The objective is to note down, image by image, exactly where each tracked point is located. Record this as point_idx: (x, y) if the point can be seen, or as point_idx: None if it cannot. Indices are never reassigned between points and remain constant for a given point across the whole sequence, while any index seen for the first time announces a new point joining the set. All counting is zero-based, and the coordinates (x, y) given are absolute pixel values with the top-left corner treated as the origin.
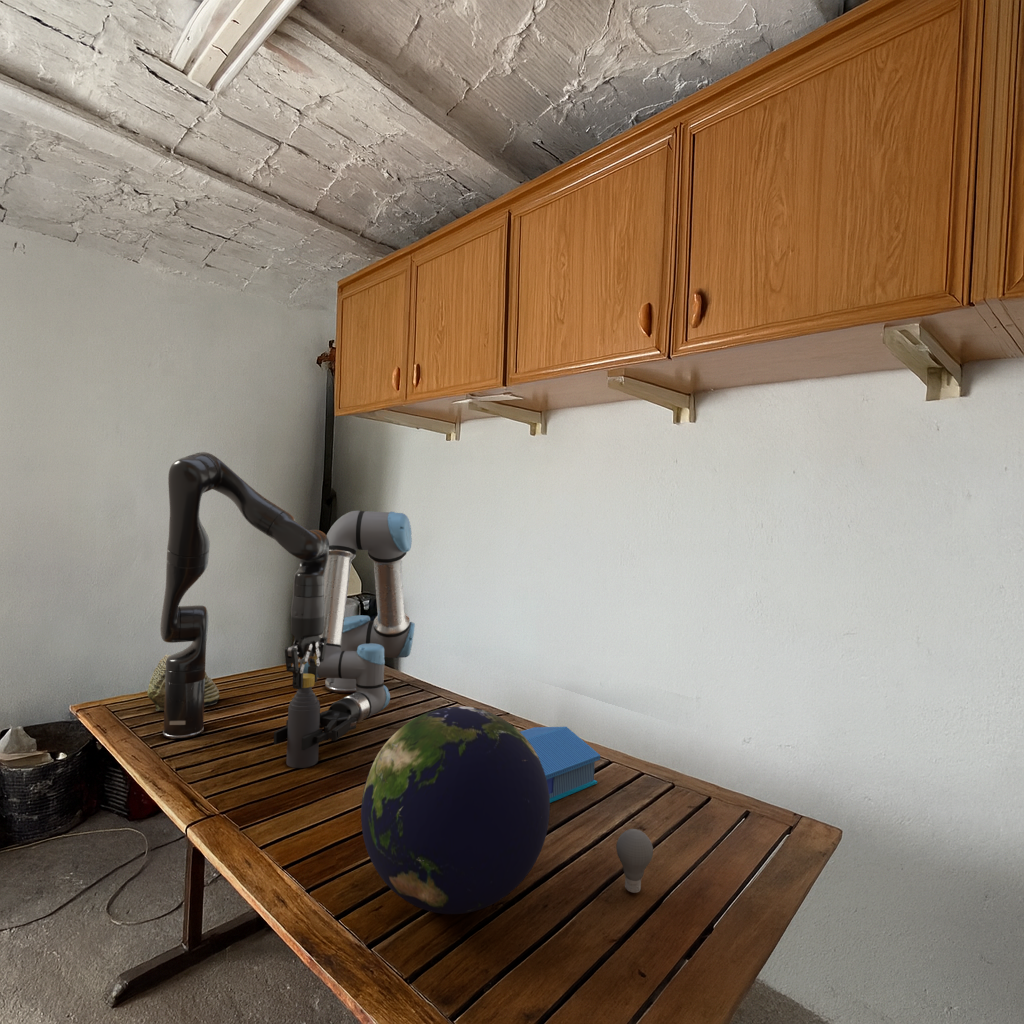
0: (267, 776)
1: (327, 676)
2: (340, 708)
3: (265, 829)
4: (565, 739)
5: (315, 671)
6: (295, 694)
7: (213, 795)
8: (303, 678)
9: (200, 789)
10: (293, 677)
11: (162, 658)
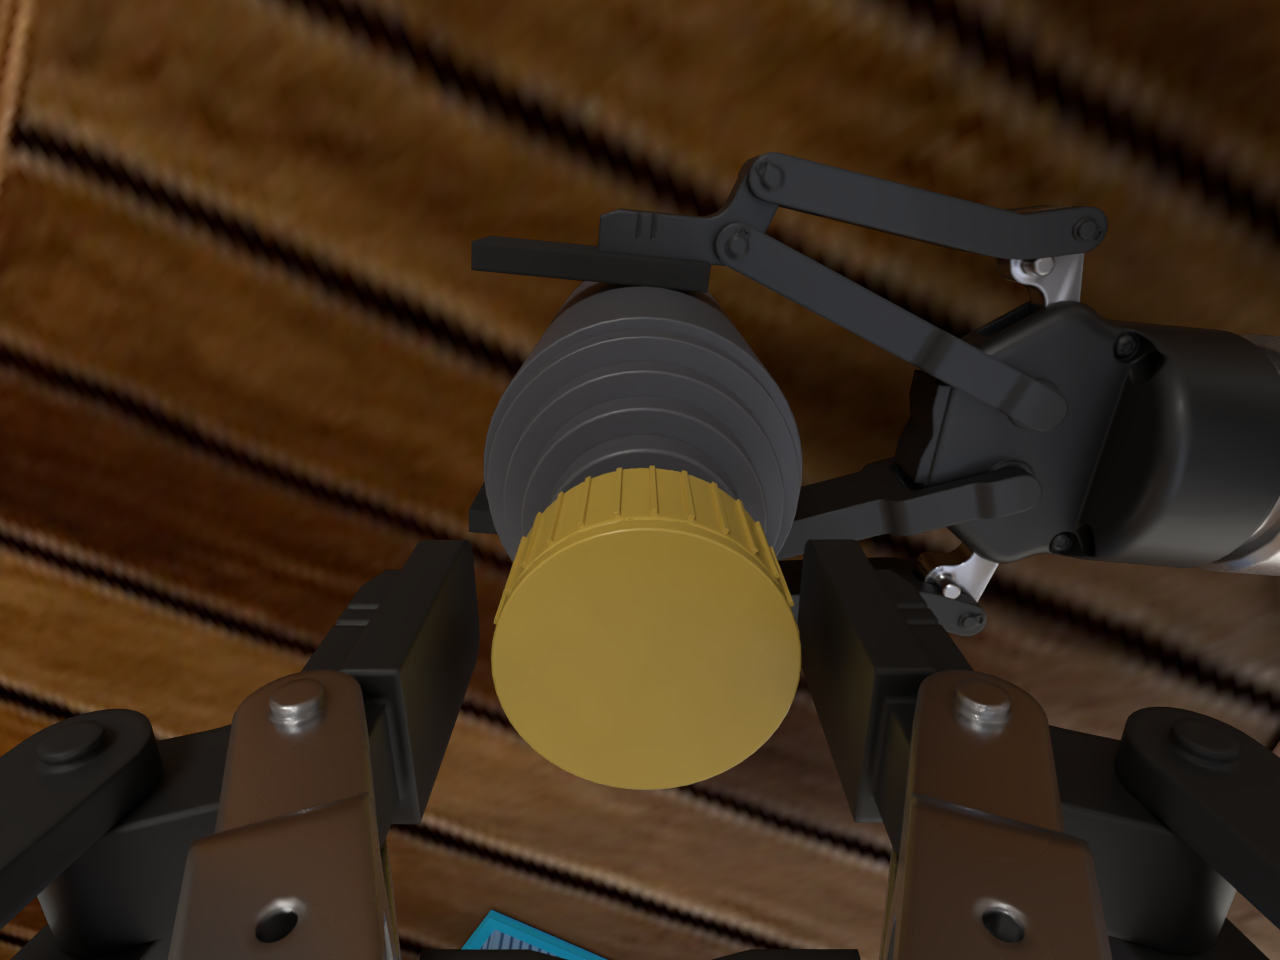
0: (394, 288)
1: None
2: (1117, 469)
3: (6, 604)
4: None
5: (837, 756)
6: (610, 419)
7: (59, 158)
8: (508, 710)
9: (59, 17)
10: (317, 666)
11: None
